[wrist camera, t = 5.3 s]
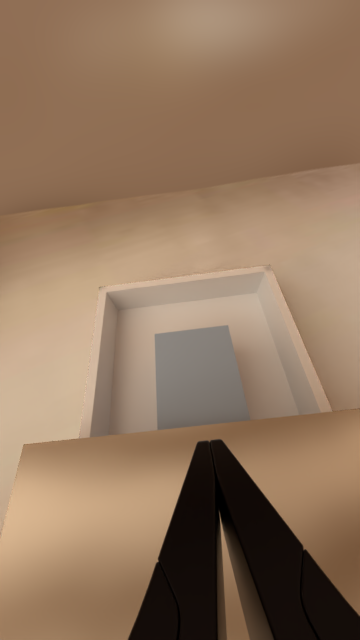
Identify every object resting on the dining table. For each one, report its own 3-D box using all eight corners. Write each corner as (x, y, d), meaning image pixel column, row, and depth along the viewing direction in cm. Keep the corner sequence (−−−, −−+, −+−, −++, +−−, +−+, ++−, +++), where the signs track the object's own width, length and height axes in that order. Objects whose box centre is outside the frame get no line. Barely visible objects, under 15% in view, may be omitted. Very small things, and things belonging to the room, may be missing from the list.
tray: (312, 429, 17) (339, 426, 14) (100, 451, 18) (76, 454, 15) (260, 289, 25) (270, 264, 22) (113, 307, 26) (99, 287, 22)
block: (250, 420, 13) (227, 325, 17) (157, 430, 14) (154, 334, 17) (238, 425, 18) (222, 348, 21) (168, 433, 18) (164, 355, 21)
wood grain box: (431, 700, 11) (818, 1135, 4) (59, 723, 12) (-150, 1134, 5) (320, 419, 18) (395, 404, 11) (90, 443, 18) (23, 444, 12)
